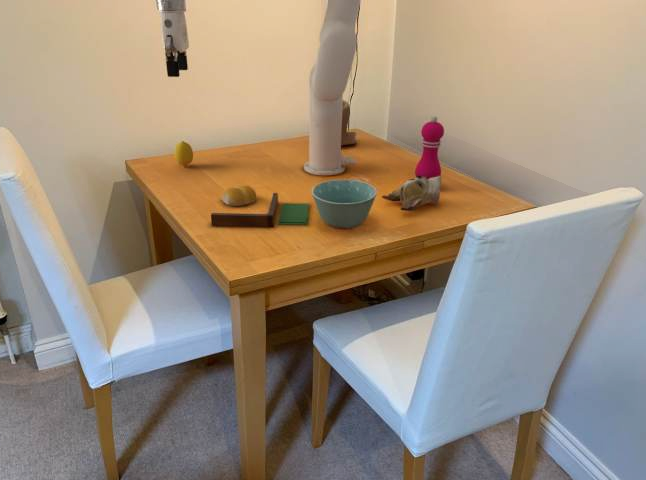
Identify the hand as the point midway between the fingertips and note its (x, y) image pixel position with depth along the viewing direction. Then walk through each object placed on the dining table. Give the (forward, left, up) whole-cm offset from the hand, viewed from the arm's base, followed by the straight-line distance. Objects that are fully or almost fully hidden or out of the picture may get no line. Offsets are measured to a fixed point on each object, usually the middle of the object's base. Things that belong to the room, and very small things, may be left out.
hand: (178, 73), depth 163 cm
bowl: (-47, +36, -28) cm, 65 cm away
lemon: (+1, -3, -28) cm, 28 cm away
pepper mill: (-71, +11, -28) cm, 77 cm away
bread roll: (-19, +24, -28) cm, 42 cm away
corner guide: (-22, +33, -28) cm, 48 cm away
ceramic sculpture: (-66, +25, -28) cm, 76 cm away
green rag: (-34, +32, -28) cm, 55 cm away
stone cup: (-46, -28, -28) cm, 60 cm away
